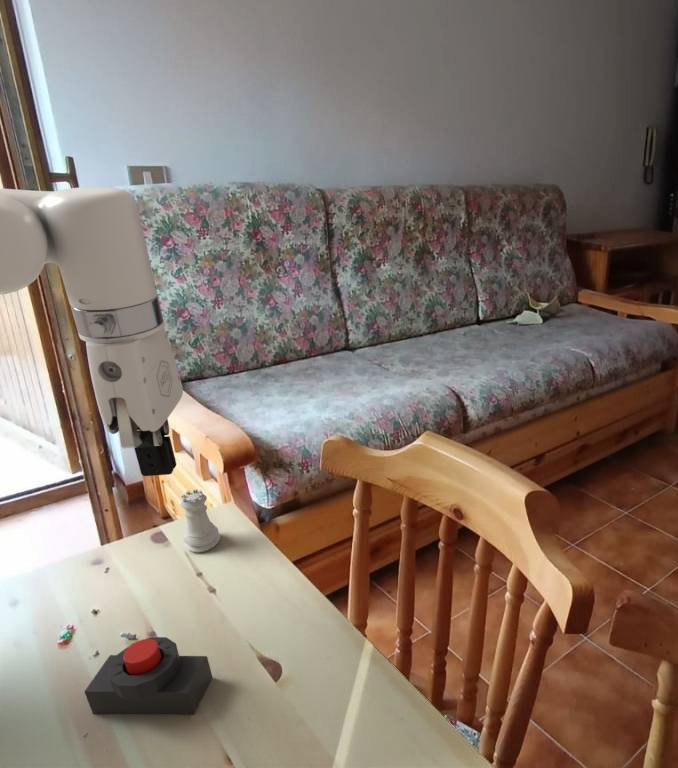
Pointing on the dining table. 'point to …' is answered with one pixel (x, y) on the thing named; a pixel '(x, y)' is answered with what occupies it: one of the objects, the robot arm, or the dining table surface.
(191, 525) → the rook chess piece
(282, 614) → the dining table surface
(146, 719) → the dining table surface
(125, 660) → the power button
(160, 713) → the power button base
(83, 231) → the robot arm
